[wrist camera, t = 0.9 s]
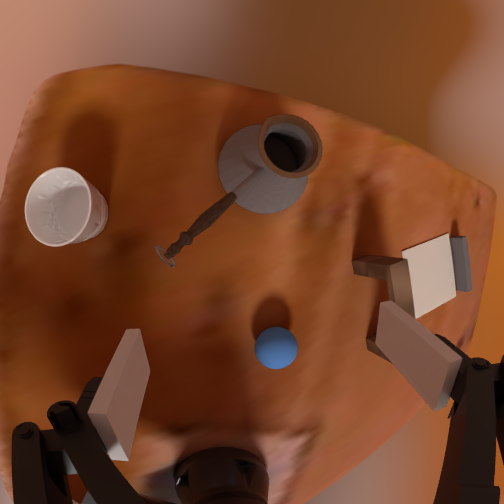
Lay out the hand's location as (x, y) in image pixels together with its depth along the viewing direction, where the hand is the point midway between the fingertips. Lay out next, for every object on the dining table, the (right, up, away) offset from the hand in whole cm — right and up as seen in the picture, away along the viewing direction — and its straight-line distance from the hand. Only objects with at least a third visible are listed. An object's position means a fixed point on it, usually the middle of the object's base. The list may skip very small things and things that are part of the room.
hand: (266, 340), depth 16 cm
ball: (+2, -8, +23) cm, 24 cm away
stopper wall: (+37, +2, +33) cm, 50 cm away
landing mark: (+30, +1, +32) cm, 44 cm away
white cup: (-22, +9, +20) cm, 31 cm away
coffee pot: (-3, +12, +24) cm, 27 cm away
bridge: (+17, -3, +29) cm, 34 cm away
